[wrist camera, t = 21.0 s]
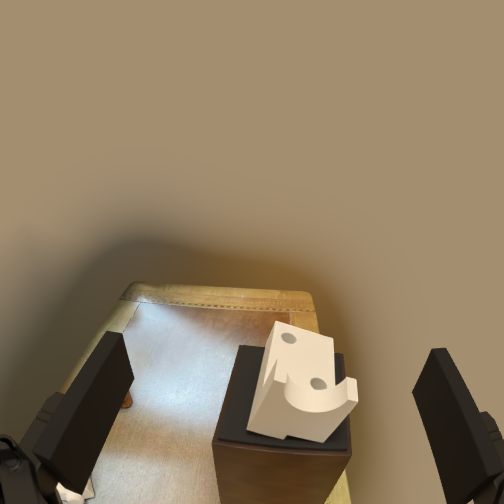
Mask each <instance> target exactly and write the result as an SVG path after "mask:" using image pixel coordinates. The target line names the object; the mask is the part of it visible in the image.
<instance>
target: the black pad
mask: <svg viewBox="0 0 504 504" xmlns="http://www.w3.org/2000/svg"><path fill="white" fill-rule="evenodd" d="M264 351H265V347H256V346H247V345H243V346H242V350H241V354H240V357H239V361H238V365H237V369H236V372H235V376H234V380H233V383H232V387H231V391H230V394H229V398H228V402H227V405H226V409H225V413H224V416H223V420H222V424H221V427H220V431H219V434H218V440H220V441H227V442H233V443H240V444H247V445H255V446H264V447H273V448H285V449H298V450H317V451H347V449H348V441H347V424H346V417H345V419H344V420H343V421H342V422H341V423H340V424H339V426H338V427H337V428H336V429H335V430H334V431H333V432H332V433H331V435H330V436H329V437H328V438H327V439H326V440H325V441H324V442H323V443H322V442H317V441H312V440H307V439H303V438H298V437H294V436H290V435H287V436H286V437H285V438H284V440H283V439H279V438H275V437H271V436H267V435H263V434H260V433H256V432H253V431H249V430H247V426H248V422H249V417H250V413H251V409H252V405H253V400H254V396H255V392H256V387H257V383H258V378H259V374H260V369H261V365H262V360H263V356H264ZM334 367H335V386H336V385H338V384H339V383H341V382H342V381H343V374H342V364H341V355H340V353H334Z"/></svg>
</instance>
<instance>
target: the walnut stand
mask: <svg viewBox="0 0 504 504" xmlns="http://www.w3.org/2000/svg"><path fill="white" fill-rule="evenodd" d="M242 346H243V345H239V349H238V352H237V356H236V359H235V363H234V366H233V370H232V374H231V377H230V381H229V384H228V388H227V391H226V395H225V398H224V402H223V405H222V409H221V412H220V416H219V419H218V423H217V426H216V430H215V433H214V437H213V440H212V450H213V457H214V464H215V471H216V477H217V484H218V490H219V496H220V502H221V504H324V502H325V501H326V499H327V498H328V496H329V494H330V493H331V491H332V490H333V488H334V486H335V484H336V483H337V481H338V479H339V478H340V476H341V474H342V472H343V471H344V469H345V467H346V465H347V463H348V462H349V459H350V458H351V456H352V448H351V432H350V419H349V414H348V415H347V416H346V424H347V441H348V449H347V451H317V450H298V449H285V448H273V447H264V446H255V445H247V444H240V443H233V442H227V441H220V440H218V434H219V431H220V427H221V424H222V420H223V416H224V413H225V409H226V405H227V402H228V398H229V394H230V391H231V387H232V383H233V380H234V376H235V372H236V369H237V365H238V361H239V357H240V354H241V350H242ZM340 355H341V364H342V374H343V380H344V379H345V378H346V375H345V367H344V357H343V354H340Z"/></svg>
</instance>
